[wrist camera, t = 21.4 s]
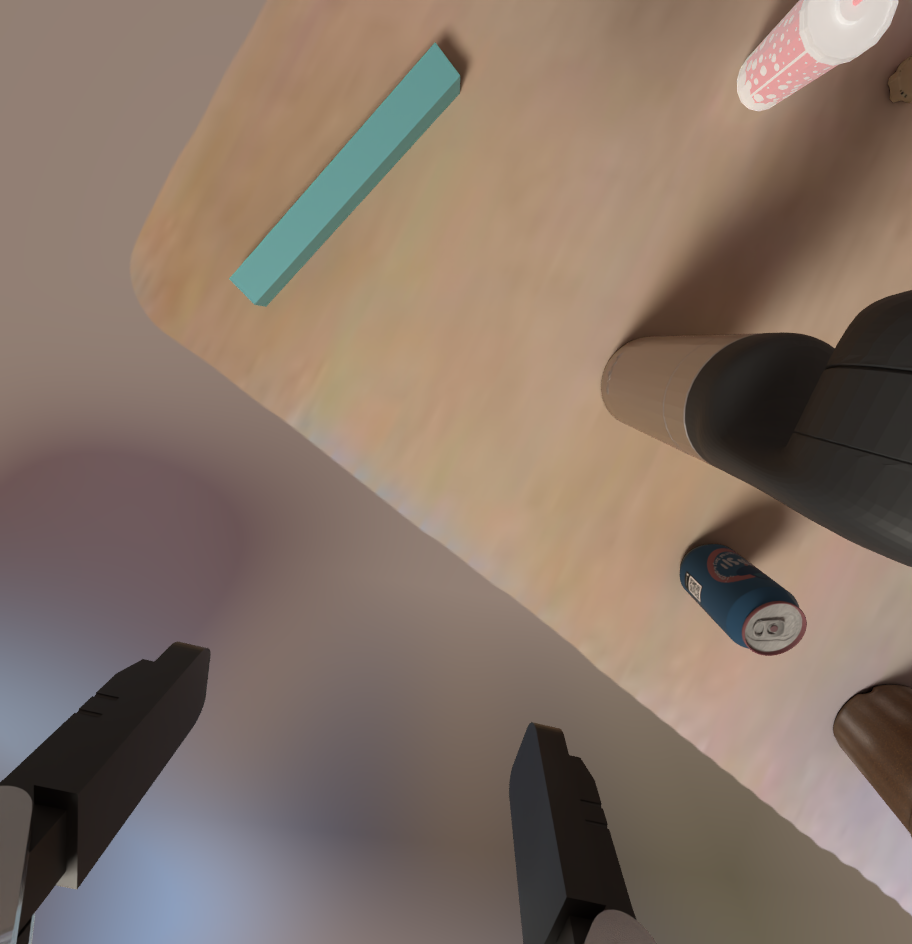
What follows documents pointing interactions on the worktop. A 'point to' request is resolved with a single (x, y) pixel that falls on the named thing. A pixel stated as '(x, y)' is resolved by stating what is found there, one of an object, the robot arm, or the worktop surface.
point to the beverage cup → (810, 46)
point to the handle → (902, 82)
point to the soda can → (742, 600)
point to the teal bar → (350, 176)
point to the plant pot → (881, 743)
